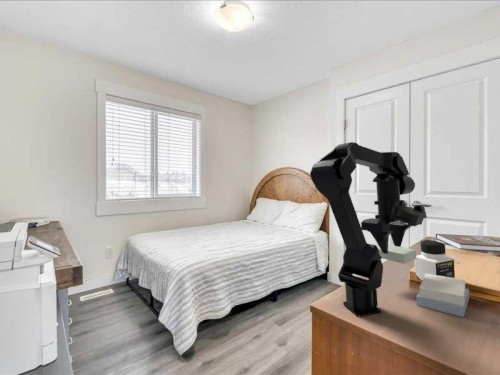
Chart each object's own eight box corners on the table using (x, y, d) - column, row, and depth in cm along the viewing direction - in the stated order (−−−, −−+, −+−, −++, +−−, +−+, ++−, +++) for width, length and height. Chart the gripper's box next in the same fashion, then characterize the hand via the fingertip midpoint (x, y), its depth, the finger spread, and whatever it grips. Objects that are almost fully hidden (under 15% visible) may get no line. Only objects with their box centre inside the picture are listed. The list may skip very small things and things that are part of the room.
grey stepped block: (464, 317, 56) (463, 297, 56) (416, 304, 63) (415, 287, 62) (469, 297, 64) (468, 280, 64) (427, 288, 71) (426, 272, 71)
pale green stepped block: (369, 255, 75) (369, 247, 75) (382, 251, 77) (381, 243, 77) (404, 263, 66) (403, 254, 66) (416, 258, 69) (415, 249, 69)
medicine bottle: (437, 286, 71) (434, 245, 71) (414, 278, 78) (412, 240, 78) (455, 282, 73) (453, 241, 73) (432, 274, 80) (430, 237, 80)
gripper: (399, 201, 60) (403, 265, 60) (436, 194, 69) (439, 250, 70) (358, 200, 69) (361, 255, 69) (395, 194, 79) (398, 243, 79)
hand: (391, 251), depth 72 cm, fingers closed on pale green stepped block, 6 cm apart
